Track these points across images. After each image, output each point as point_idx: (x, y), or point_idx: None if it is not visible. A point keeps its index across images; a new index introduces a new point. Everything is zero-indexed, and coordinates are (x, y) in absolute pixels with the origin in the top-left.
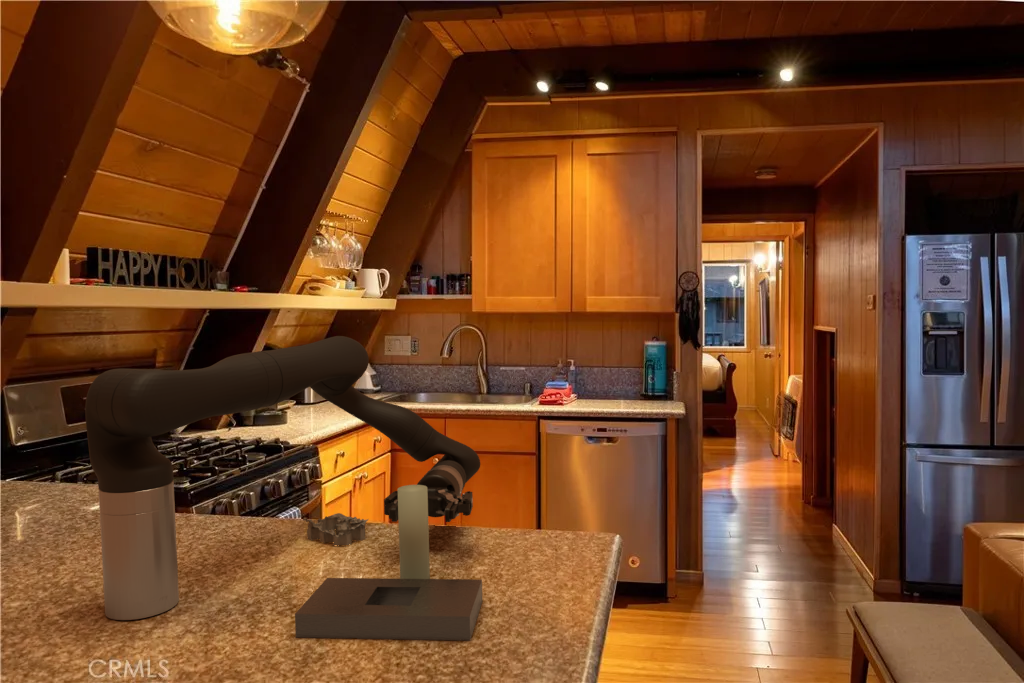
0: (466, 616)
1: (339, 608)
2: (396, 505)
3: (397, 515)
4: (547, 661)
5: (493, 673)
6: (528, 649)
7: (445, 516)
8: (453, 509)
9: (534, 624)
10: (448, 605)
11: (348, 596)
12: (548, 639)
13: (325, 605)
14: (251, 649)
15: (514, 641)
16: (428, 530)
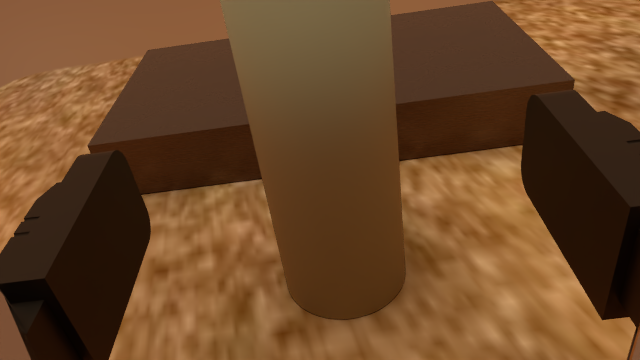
0: (153, 49)
1: (415, 22)
2: (586, 129)
3: (543, 181)
4: (50, 83)
5: (136, 57)
6: (67, 95)
7: (136, 192)
8: (48, 197)
9: (22, 145)
10: (187, 62)
11: (429, 44)
12: (20, 117)
13: (454, 21)
14: (537, 22)
15: (83, 104)
16: (243, 99)
